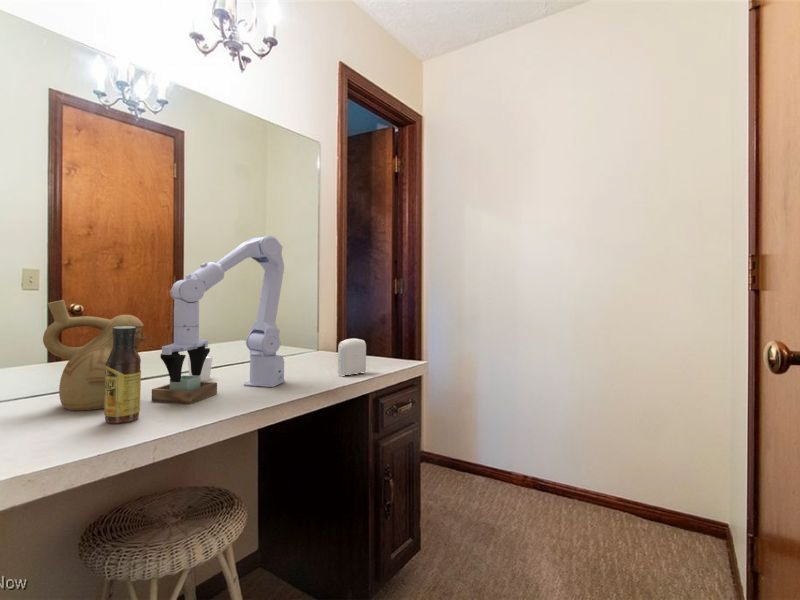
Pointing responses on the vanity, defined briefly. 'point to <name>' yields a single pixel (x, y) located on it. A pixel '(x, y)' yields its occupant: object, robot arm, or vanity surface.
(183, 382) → the mint green block
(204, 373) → the white rounded block
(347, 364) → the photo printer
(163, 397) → the wooden tray
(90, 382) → the ceramic vessel
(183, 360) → the robot arm
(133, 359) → the sauce bottle
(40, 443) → the vanity surface
